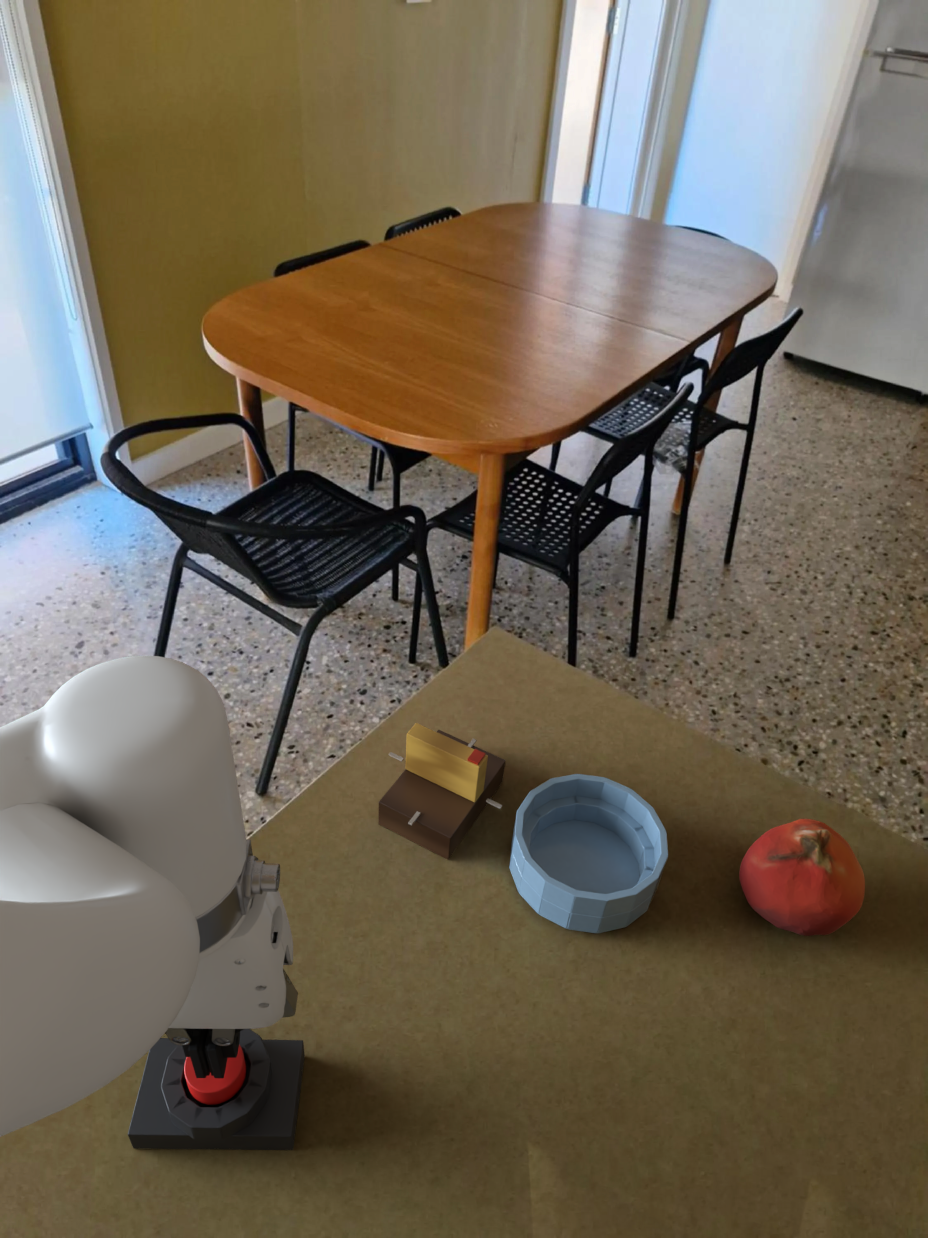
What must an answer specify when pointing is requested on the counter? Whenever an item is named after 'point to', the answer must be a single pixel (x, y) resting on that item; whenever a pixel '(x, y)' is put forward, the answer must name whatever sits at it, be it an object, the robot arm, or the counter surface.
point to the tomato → (803, 878)
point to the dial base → (436, 806)
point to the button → (217, 1081)
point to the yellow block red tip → (446, 762)
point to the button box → (237, 1124)
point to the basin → (587, 853)
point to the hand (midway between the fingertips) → (215, 1053)
